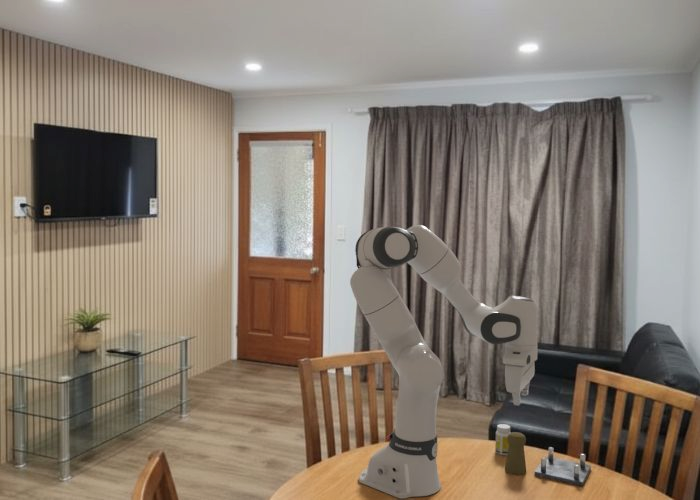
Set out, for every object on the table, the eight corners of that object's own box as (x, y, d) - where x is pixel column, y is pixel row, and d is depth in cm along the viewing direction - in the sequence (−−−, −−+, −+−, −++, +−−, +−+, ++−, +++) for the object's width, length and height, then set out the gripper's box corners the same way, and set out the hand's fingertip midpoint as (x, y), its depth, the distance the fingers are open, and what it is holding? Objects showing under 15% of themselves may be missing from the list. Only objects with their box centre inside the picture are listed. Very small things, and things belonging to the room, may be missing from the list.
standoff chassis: (534, 475, 175) (534, 459, 175) (545, 459, 186) (545, 444, 186) (582, 486, 168) (583, 469, 168) (590, 469, 180) (591, 453, 179)
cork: (527, 476, 175) (528, 438, 174) (505, 474, 176) (506, 436, 175) (525, 467, 181) (526, 430, 180) (504, 465, 182) (505, 428, 181)
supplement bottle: (513, 451, 192) (513, 425, 191) (508, 456, 188) (509, 430, 188) (498, 448, 195) (498, 422, 194) (493, 453, 191) (493, 426, 190)
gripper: (518, 343, 187) (518, 388, 188) (501, 359, 169) (500, 408, 170) (540, 345, 184) (539, 391, 185) (524, 361, 166) (524, 412, 167)
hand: (520, 399), depth 177 cm, fingers open, 8 cm apart
